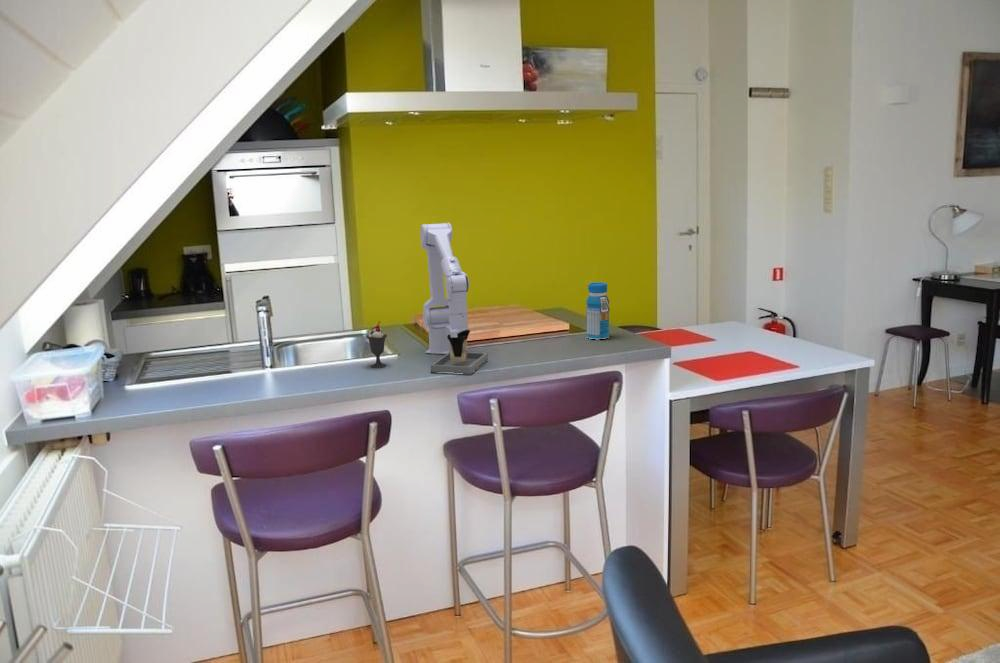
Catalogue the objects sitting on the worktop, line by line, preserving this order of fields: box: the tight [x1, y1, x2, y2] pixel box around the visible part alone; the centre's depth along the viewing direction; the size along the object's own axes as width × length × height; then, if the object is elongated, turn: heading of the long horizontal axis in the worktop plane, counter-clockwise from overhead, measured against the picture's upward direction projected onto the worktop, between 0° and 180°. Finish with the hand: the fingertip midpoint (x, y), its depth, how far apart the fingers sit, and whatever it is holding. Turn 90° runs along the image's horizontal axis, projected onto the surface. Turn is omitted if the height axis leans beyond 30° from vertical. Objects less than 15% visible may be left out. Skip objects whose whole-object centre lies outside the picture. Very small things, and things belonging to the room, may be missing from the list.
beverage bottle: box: [585, 281, 611, 340], centre depth 282 cm, size 8×8×20 cm
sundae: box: [365, 321, 388, 369], centre depth 252 cm, size 7×7×15 cm
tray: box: [430, 351, 489, 376], centre depth 250 cm, size 18×13×2 cm
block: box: [450, 339, 468, 361], centre depth 249 cm, size 4×4×6 cm
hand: (459, 354), depth 249 cm, fingers closed on block, 4 cm apart
